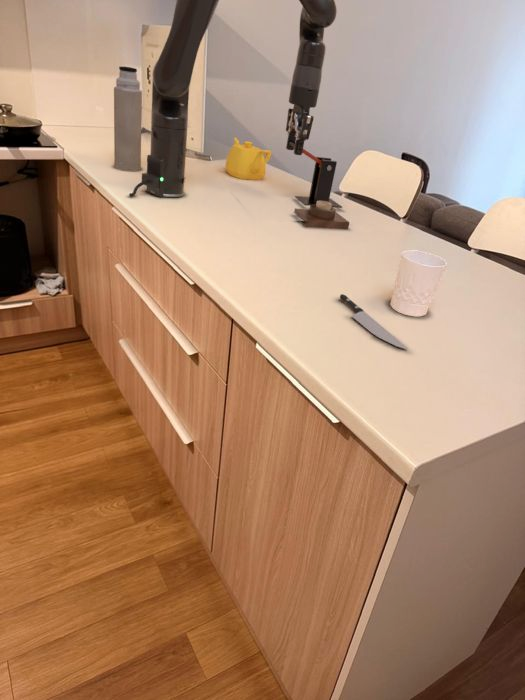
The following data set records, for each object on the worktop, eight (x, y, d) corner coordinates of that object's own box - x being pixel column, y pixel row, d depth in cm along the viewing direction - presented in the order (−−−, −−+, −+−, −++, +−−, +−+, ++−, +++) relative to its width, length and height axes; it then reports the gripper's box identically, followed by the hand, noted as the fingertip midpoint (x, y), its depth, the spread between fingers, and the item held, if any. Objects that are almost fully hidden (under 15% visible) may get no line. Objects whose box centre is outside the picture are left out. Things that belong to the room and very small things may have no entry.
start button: (318, 211, 132) (320, 204, 131) (313, 206, 135) (314, 200, 135) (332, 211, 133) (334, 205, 133) (326, 207, 137) (328, 201, 136)
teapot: (283, 184, 170) (288, 150, 165) (241, 183, 163) (245, 147, 158) (253, 168, 186) (257, 137, 181) (215, 166, 179) (218, 134, 174)
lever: (293, 149, 139) (298, 141, 138) (286, 145, 143) (291, 137, 143) (330, 174, 145) (335, 166, 144) (322, 169, 150) (327, 162, 149)
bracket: (304, 208, 147) (313, 160, 140) (294, 199, 154) (302, 154, 147) (341, 210, 150) (351, 164, 144) (330, 202, 158) (339, 157, 151)
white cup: (381, 297, 97) (396, 247, 92) (420, 301, 98) (436, 252, 93) (394, 316, 90) (410, 263, 85) (435, 320, 91) (454, 268, 86)
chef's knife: (392, 354, 78) (408, 351, 79) (394, 348, 78) (409, 345, 79) (329, 299, 92) (342, 297, 94) (330, 294, 92) (343, 292, 93)
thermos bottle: (123, 163, 163) (123, 65, 149) (145, 168, 162) (147, 69, 148) (109, 167, 157) (108, 64, 143) (132, 172, 155) (132, 68, 141)
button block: (306, 227, 130) (309, 212, 128) (293, 215, 138) (296, 200, 136) (347, 229, 134) (351, 214, 132) (333, 217, 142) (336, 203, 140)
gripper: (283, 81, 138) (273, 145, 146) (301, 86, 127) (289, 156, 135) (309, 85, 141) (297, 148, 149) (328, 90, 129) (315, 159, 137)
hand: (293, 152), depth 142 cm, fingers closed on lever, 6 cm apart
